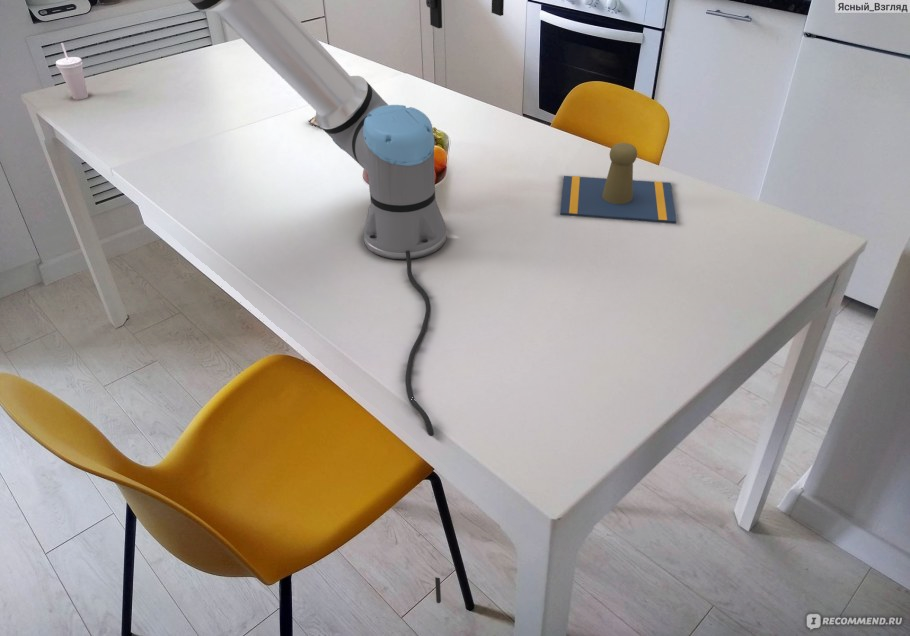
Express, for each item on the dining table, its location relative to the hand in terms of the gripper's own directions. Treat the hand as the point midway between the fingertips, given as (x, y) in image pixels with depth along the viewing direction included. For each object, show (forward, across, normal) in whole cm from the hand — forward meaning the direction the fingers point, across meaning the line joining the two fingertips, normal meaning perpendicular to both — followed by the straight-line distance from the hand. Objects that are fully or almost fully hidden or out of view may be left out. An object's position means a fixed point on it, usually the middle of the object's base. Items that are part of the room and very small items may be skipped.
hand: (467, 20), depth 131 cm
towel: (+33, -20, +24) cm, 45 cm away
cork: (+32, -20, +24) cm, 45 cm away
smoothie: (+33, +57, -101) cm, 121 cm away
